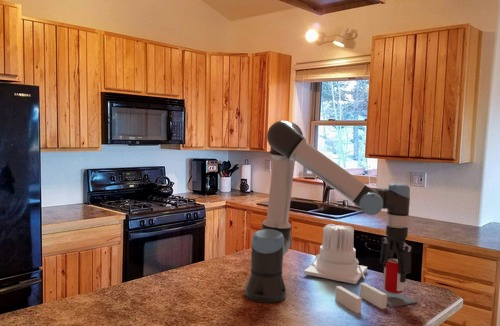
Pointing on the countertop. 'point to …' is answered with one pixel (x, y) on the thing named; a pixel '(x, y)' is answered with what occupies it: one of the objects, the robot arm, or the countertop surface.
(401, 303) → the mat
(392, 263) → the beverage can
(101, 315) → the countertop surface
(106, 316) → the countertop surface
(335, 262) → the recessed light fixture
